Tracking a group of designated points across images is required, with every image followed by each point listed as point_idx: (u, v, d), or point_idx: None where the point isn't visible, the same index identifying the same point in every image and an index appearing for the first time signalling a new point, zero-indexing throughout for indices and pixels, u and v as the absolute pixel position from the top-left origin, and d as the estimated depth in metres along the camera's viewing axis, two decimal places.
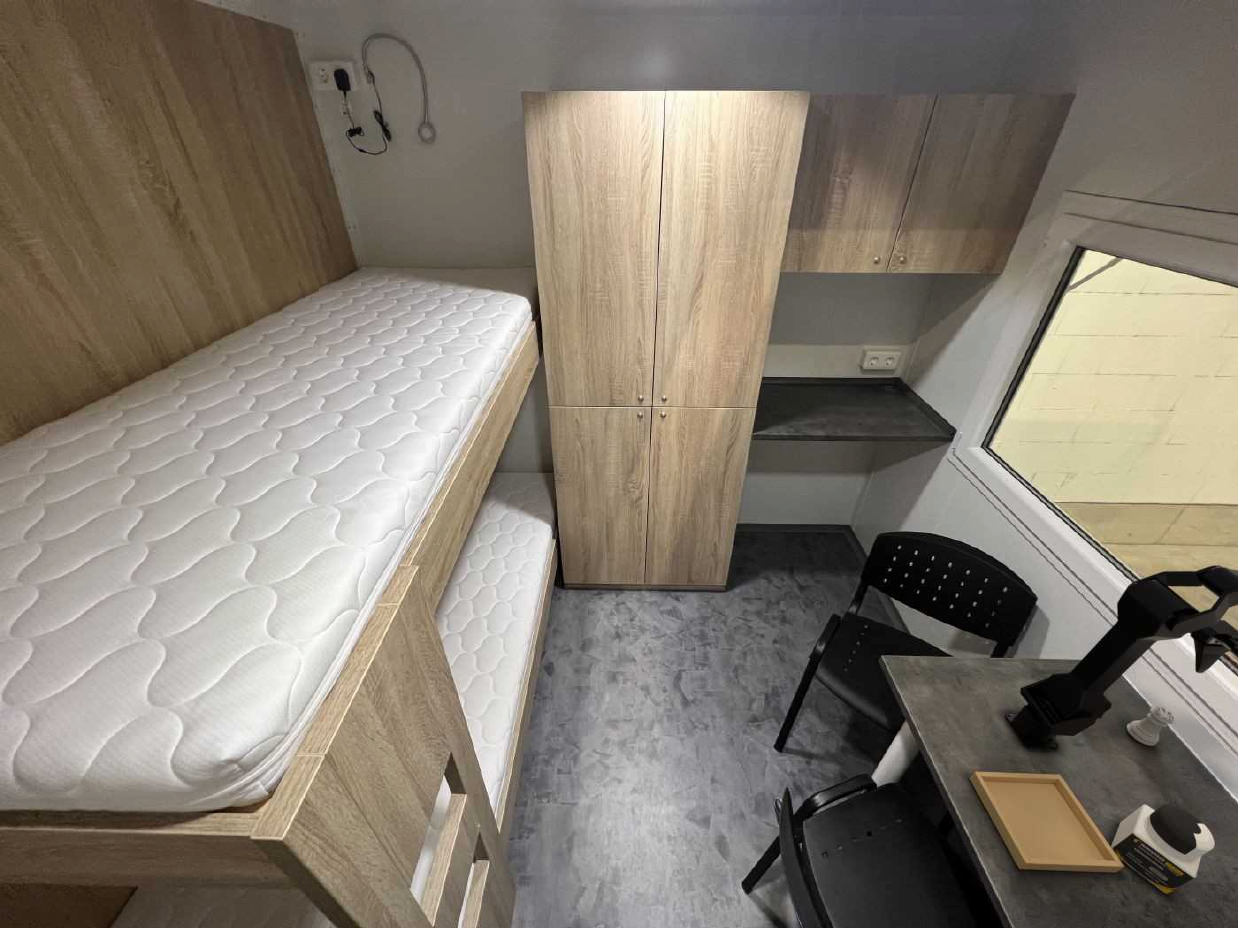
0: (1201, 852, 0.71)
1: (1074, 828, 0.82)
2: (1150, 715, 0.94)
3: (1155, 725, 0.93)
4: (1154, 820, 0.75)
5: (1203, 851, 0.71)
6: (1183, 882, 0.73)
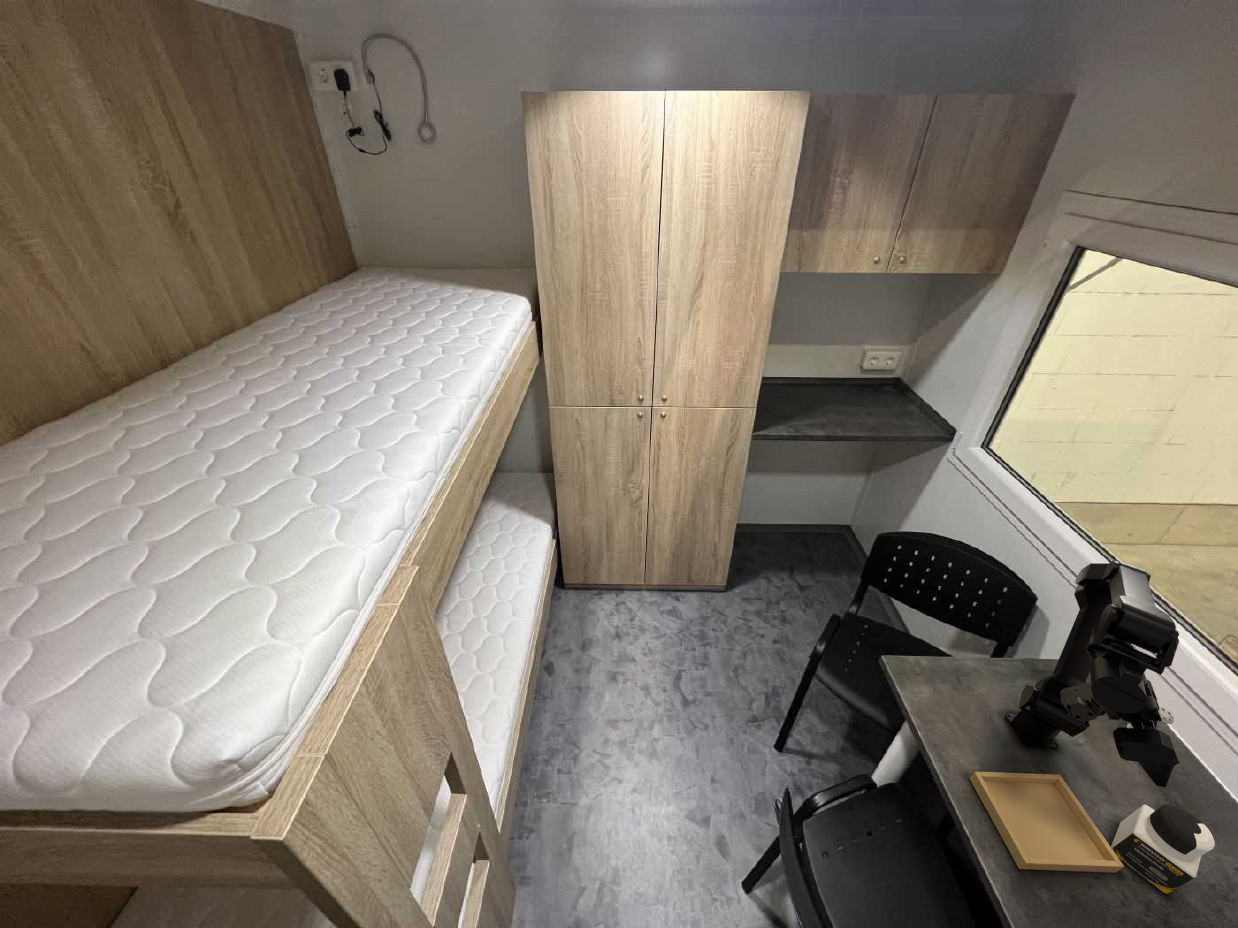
0: (1201, 852, 0.71)
1: (1074, 828, 0.82)
2: None
3: None
4: (1154, 820, 0.75)
5: (1203, 851, 0.71)
6: (1183, 882, 0.73)
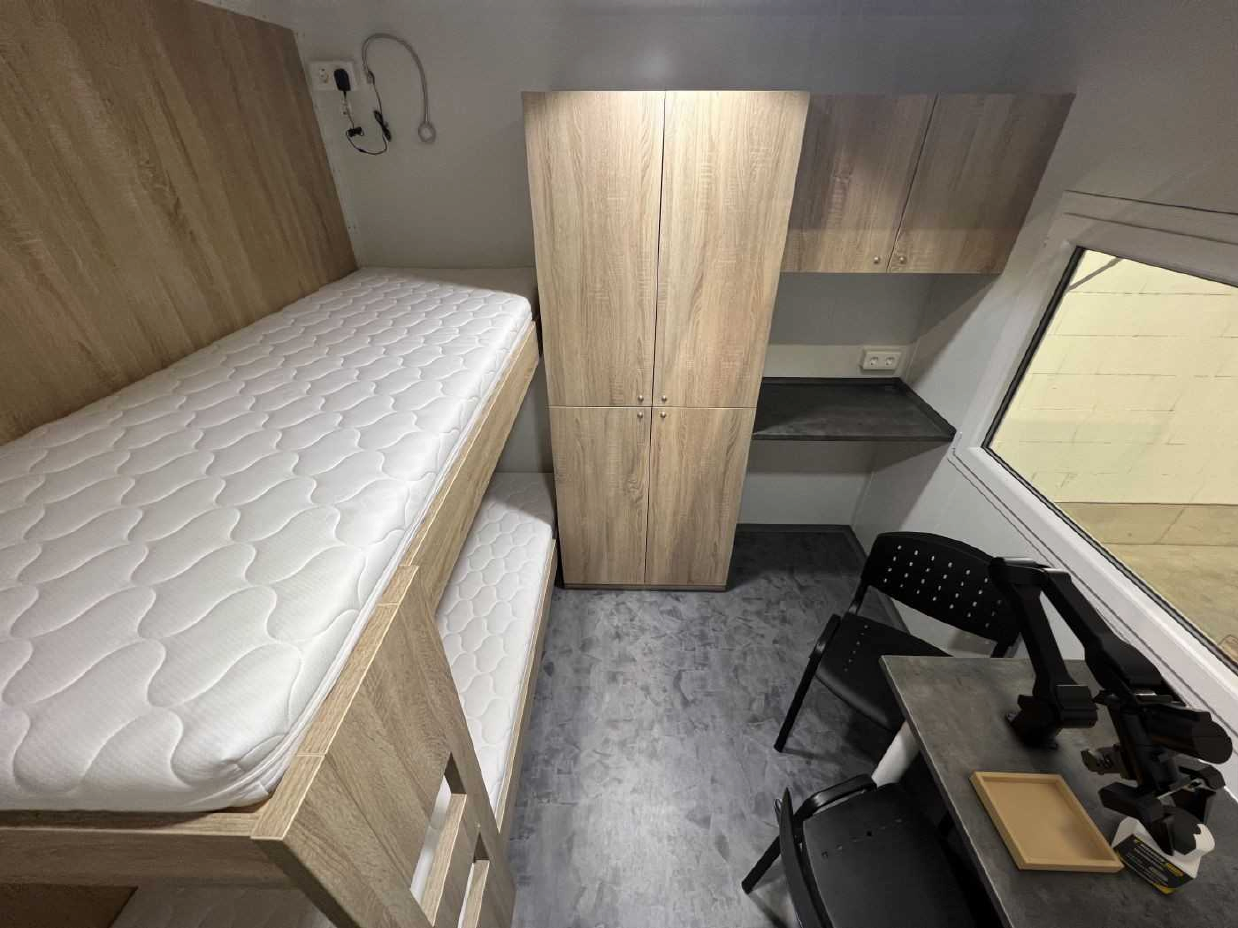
0: (1201, 853, 0.71)
1: (1074, 828, 0.82)
2: None
3: None
4: None
5: (1203, 852, 0.71)
6: (1183, 882, 0.73)
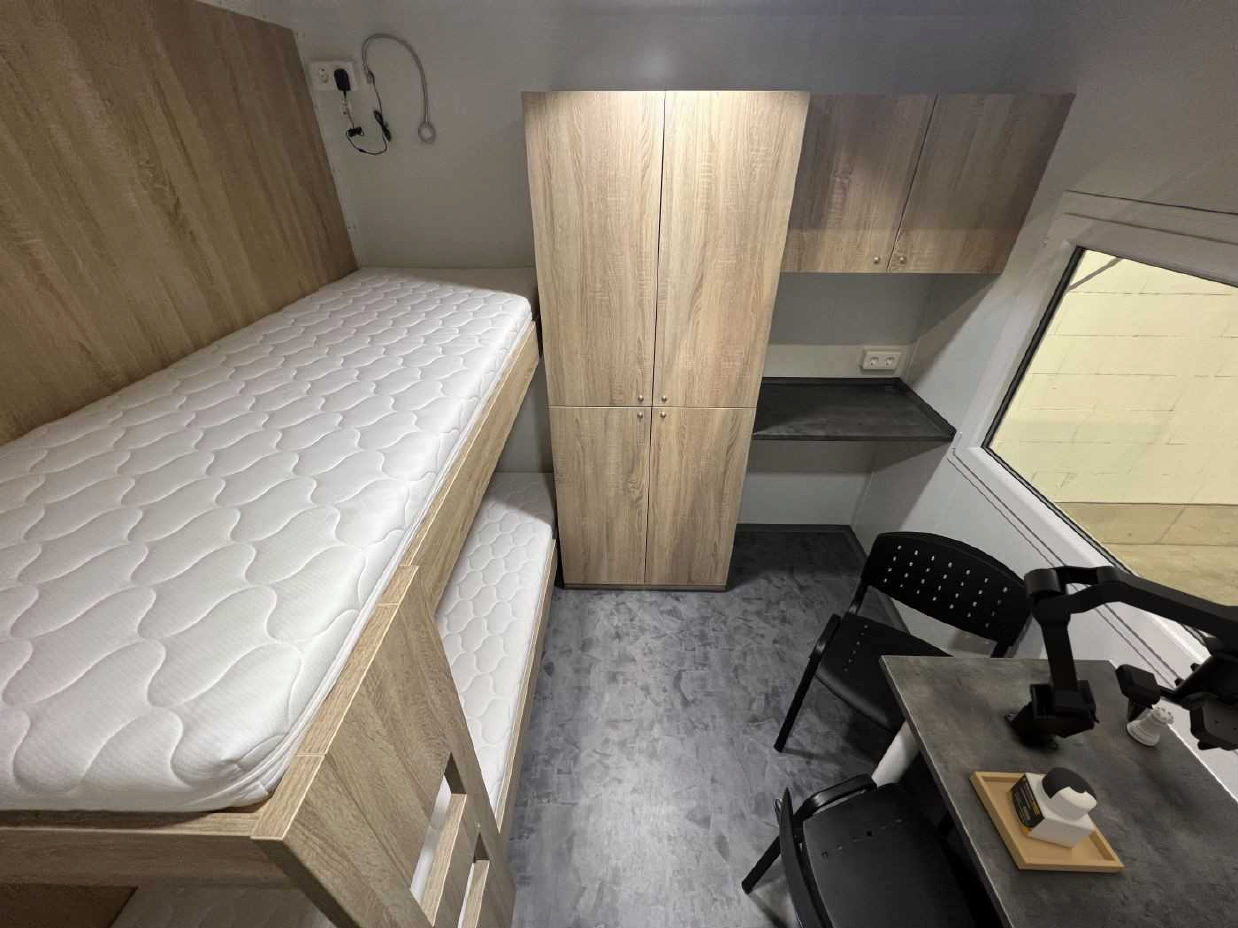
0: (1063, 801, 0.76)
1: None
2: (1150, 715, 0.94)
3: (1155, 725, 0.93)
4: None
5: (1064, 800, 0.76)
6: (1037, 822, 0.79)
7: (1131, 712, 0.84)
